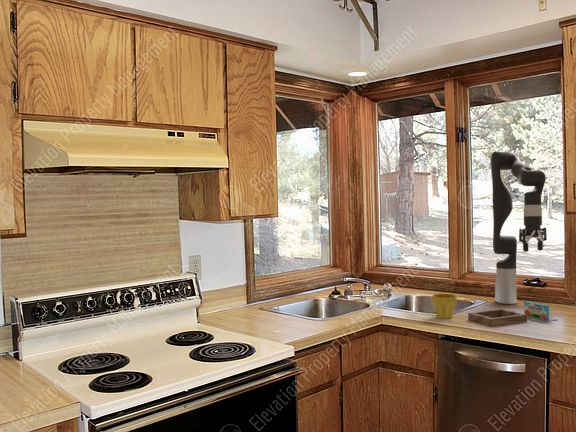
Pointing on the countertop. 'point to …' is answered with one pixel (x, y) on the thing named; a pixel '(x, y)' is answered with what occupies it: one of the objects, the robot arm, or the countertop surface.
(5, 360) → the countertop surface
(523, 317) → the tray
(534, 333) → the countertop surface
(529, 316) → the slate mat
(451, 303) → the plant pot
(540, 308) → the snack box
